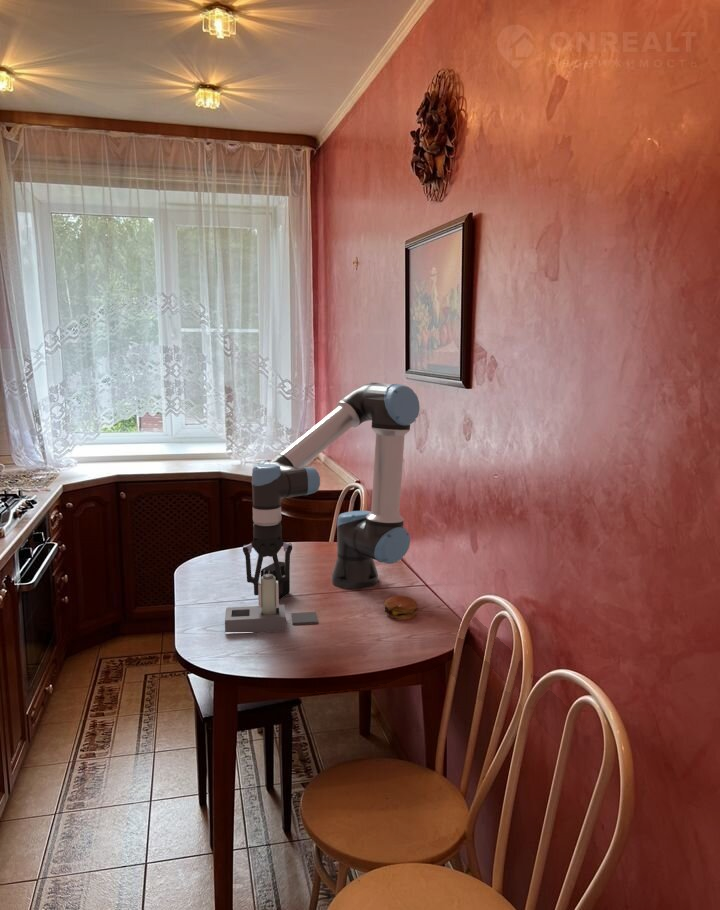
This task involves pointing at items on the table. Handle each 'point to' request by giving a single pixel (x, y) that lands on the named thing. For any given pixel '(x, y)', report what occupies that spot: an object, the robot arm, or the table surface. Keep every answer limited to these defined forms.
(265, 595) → the plug
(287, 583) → the electronic device
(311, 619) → the coaster
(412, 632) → the table surface
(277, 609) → the gray cinder block
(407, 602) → the burger
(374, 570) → the robot arm
